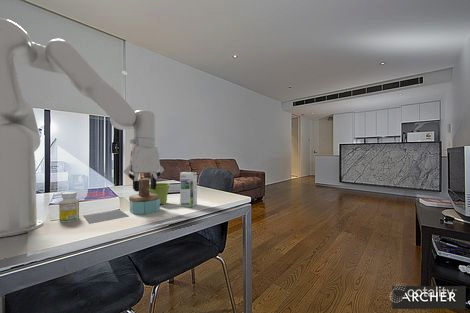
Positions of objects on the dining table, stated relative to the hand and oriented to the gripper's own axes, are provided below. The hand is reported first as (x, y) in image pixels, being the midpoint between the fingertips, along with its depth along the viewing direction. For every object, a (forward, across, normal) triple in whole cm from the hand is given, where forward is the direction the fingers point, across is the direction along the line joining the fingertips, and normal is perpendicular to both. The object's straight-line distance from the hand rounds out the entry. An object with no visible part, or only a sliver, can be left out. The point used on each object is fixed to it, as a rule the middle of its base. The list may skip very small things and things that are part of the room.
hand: (145, 189), depth 86 cm
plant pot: (+9, +10, +10) cm, 17 cm away
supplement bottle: (+9, -23, +6) cm, 25 cm away
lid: (+4, 0, +1) cm, 4 cm away
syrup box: (+9, +18, -2) cm, 20 cm away
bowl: (+9, 0, 0) cm, 9 cm away
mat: (+9, -13, +2) cm, 16 cm away
